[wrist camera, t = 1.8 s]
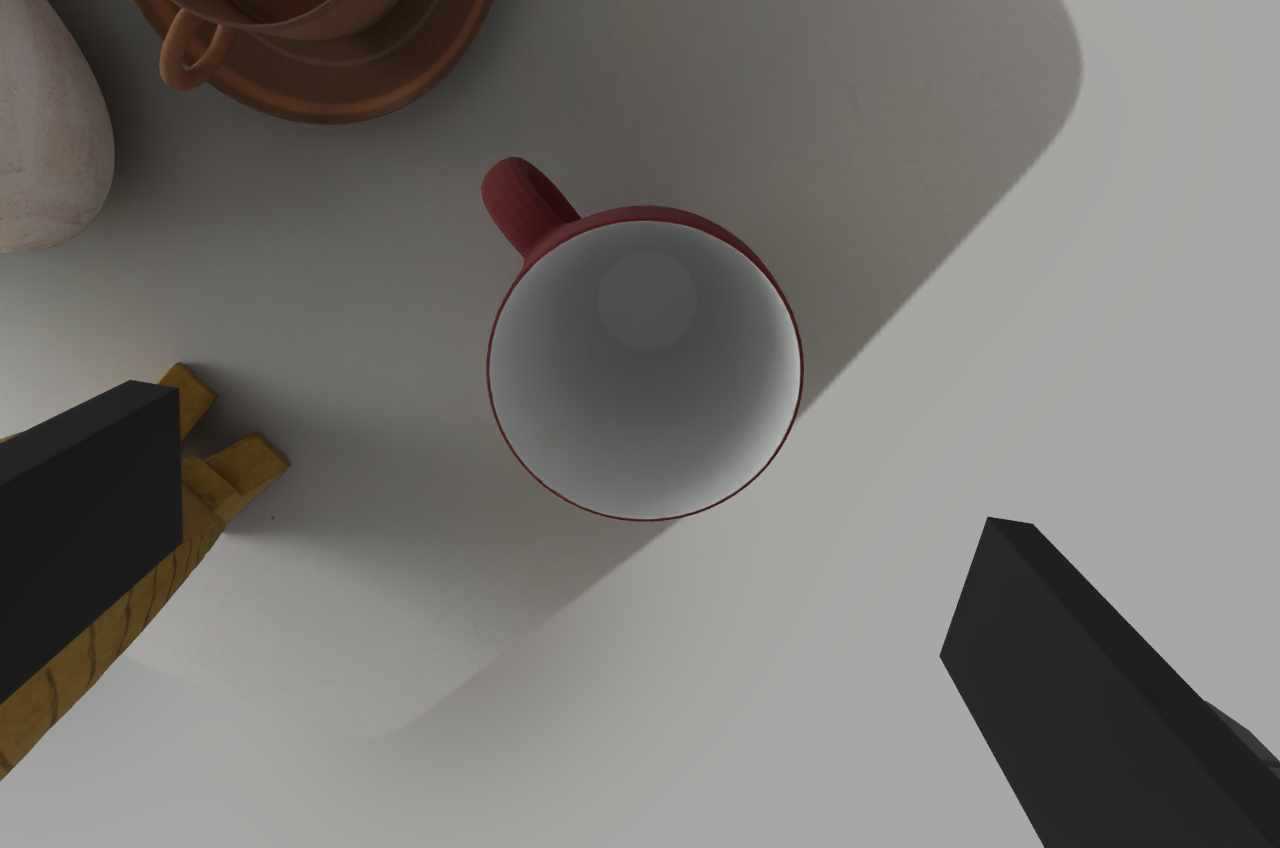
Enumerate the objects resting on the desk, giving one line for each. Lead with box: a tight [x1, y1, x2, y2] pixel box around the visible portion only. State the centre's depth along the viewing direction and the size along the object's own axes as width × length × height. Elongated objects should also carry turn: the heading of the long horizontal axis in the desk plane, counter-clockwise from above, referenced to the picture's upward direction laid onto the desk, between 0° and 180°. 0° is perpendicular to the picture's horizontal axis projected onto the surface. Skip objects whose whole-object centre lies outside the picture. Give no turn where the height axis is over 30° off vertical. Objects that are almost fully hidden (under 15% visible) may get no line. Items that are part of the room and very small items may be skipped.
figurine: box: [0, 362, 291, 781], centre depth 25 cm, size 7×7×15 cm
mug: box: [481, 157, 804, 521], centre depth 25 cm, size 10×8×10 cm
